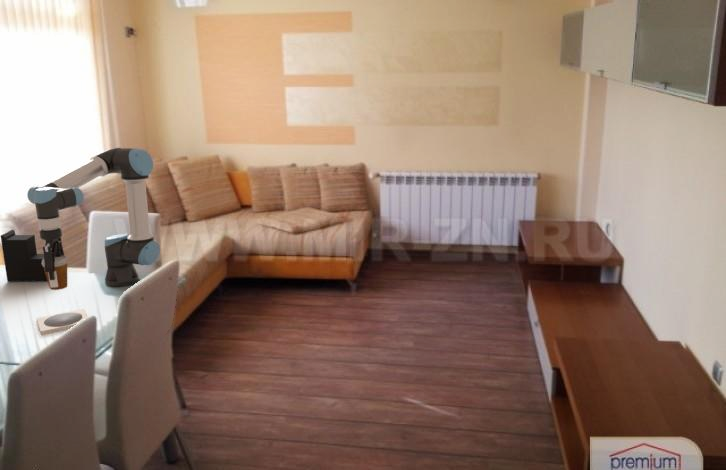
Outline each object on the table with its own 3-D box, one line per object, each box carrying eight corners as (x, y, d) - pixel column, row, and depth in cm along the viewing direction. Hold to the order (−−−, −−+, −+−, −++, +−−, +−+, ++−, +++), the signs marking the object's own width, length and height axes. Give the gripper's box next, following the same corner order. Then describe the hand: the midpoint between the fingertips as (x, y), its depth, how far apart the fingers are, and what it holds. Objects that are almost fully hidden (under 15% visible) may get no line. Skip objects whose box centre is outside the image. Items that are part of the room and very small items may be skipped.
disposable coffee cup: (47, 284, 241) (43, 256, 238) (73, 282, 244) (69, 254, 240) (43, 292, 232) (38, 263, 229) (69, 290, 235) (65, 261, 232)
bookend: (66, 274, 300) (59, 229, 293) (56, 281, 289) (49, 235, 283) (18, 275, 298) (10, 229, 292) (7, 282, 288) (-1, 235, 282)
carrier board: (84, 312, 253) (84, 308, 252) (91, 324, 241) (90, 320, 240) (36, 321, 243) (36, 318, 243) (41, 334, 231) (40, 331, 231)
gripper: (49, 221, 241) (57, 274, 247) (29, 235, 221) (38, 293, 227) (68, 220, 242) (76, 273, 248) (50, 234, 222) (59, 292, 228)
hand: (58, 283), depth 237 cm, fingers closed on disposable coffee cup, 8 cm apart
